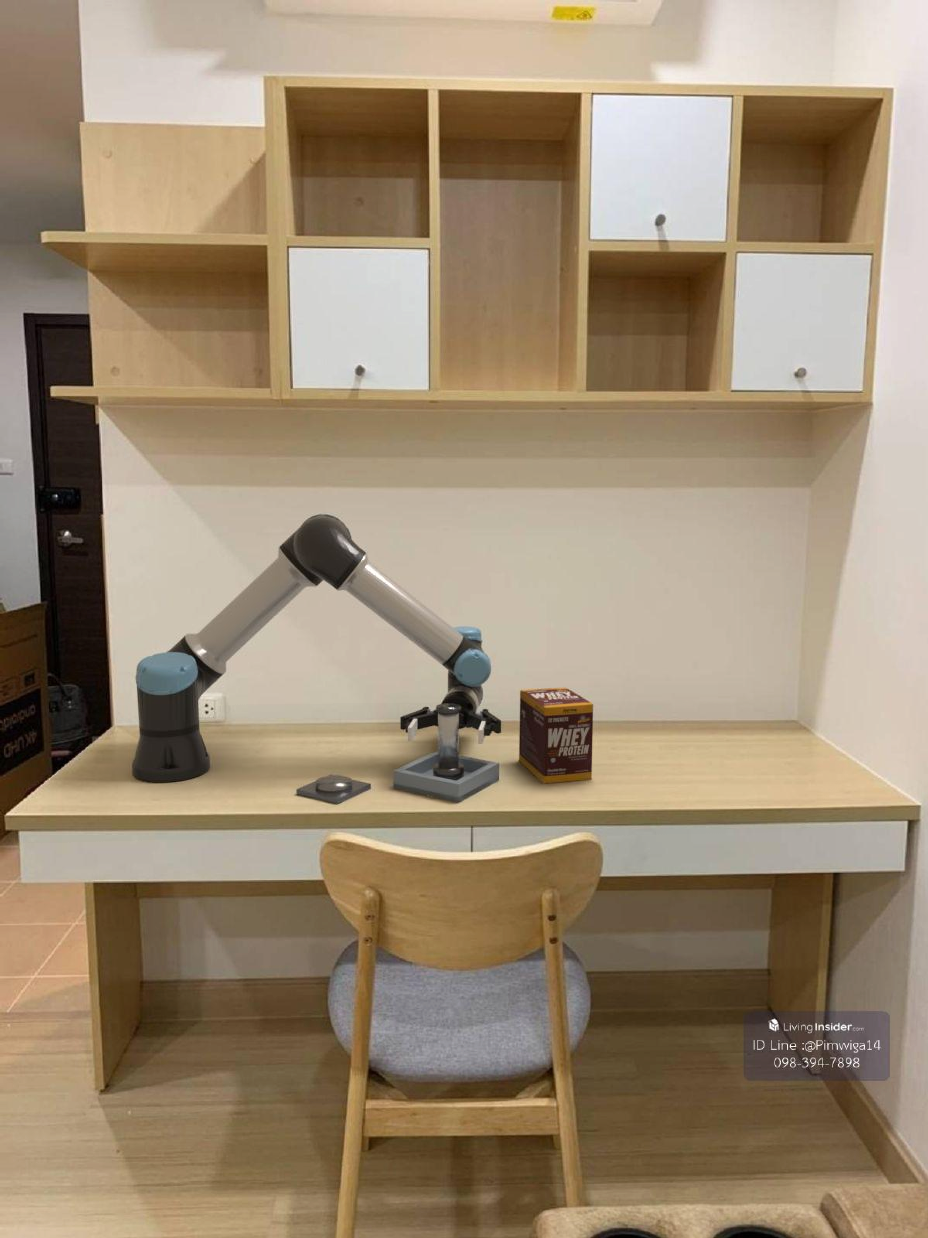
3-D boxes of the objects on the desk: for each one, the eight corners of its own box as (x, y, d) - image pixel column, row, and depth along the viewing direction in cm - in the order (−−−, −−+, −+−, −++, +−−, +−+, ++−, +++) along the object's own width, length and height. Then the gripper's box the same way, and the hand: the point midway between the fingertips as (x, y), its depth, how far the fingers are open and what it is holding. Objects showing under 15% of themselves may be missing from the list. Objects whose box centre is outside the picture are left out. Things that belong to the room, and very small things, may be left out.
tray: (393, 788, 179) (393, 770, 178) (436, 767, 192) (436, 750, 191) (458, 802, 171) (458, 784, 171) (499, 779, 184) (499, 762, 183)
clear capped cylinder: (428, 780, 180) (427, 708, 178) (441, 771, 186) (440, 701, 183) (456, 785, 178) (456, 711, 175) (468, 775, 183) (468, 704, 181)
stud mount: (296, 794, 175) (296, 784, 175) (330, 779, 184) (330, 769, 184) (337, 804, 170) (337, 793, 170) (370, 788, 179) (370, 778, 178)
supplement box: (543, 784, 181) (544, 707, 179) (518, 761, 196) (519, 689, 193) (592, 779, 184) (594, 703, 182) (564, 757, 199) (565, 686, 196)
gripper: (517, 726, 197) (509, 757, 176) (401, 722, 200) (380, 752, 179) (517, 692, 196) (510, 718, 175) (401, 688, 199) (380, 714, 178)
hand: (444, 735), depth 177 cm, fingers open, 13 cm apart
